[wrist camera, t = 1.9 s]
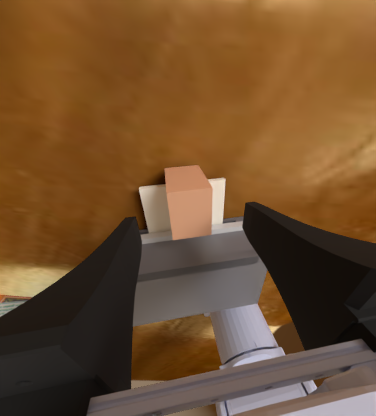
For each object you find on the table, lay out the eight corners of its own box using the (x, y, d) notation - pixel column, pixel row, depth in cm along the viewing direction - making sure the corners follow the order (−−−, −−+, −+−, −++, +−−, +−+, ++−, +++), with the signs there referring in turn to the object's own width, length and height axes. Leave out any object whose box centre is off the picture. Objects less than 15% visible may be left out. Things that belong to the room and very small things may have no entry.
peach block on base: (218, 262, 22) (232, 298, 18) (158, 272, 22) (158, 312, 17) (224, 162, 15) (249, 183, 11) (135, 171, 15) (125, 197, 10)
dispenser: (236, 262, 24) (257, 303, 19) (138, 277, 23) (131, 326, 18) (243, 212, 20) (273, 248, 15) (121, 227, 18) (106, 274, 13)
